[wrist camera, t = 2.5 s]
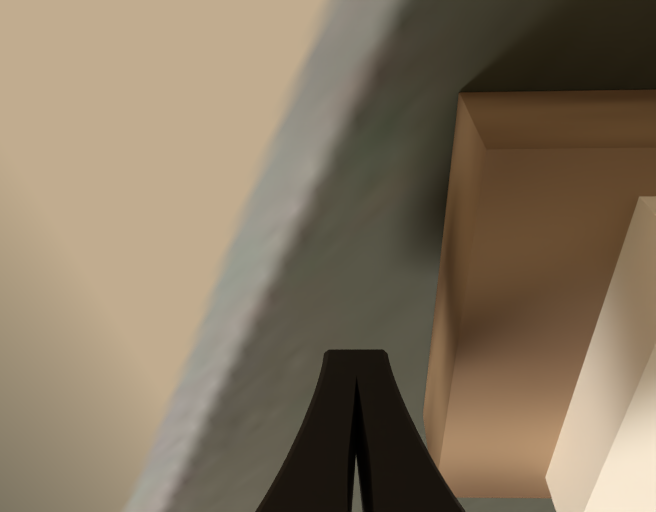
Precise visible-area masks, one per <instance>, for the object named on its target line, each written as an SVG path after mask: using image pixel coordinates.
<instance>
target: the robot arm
mask: <svg viewBox="0 0 656 512" xmlns="http://www.w3.org/2000/svg"><path fill="white" fill-rule="evenodd" d="M356 457H357V466H358V475H359V484H360V493H361V502H362V511H363V512H465V510H464V509H463V507H462V506H461V504H460V503H459V502H458V500H457V498H456V497H455V495H454V494H453V492H452V491H451V489H450V488H449V486H448V485H447V483H446V481H445V480H444V478H443V476H442V475H441V473H440V471H439V470H438V468H437V466H436V465H435V463H434V461H433V459H432V458H431V456H430V454H429V452H428V450H427V449H426V447H425V445H424V443H423V441H422V439H421V437H420V435H419V433H418V431H417V429H416V427H415V425H414V423H413V421H412V419H411V417H410V415H409V413H408V411H407V408H406V406H405V404H404V402H403V399H402V397H401V394H400V392H399V389H398V387H397V384H396V381H395V379H394V376H393V373H392V370H391V366H390V363H389V359H388V354H387V353H386V352H385V351H384V350H328V351H327V352H325V353H324V358H323V364H322V368H321V372H320V376H319V379H318V383H317V386H316V389H315V392H314V395H313V398H312V400H311V403H310V405H309V408H308V410H307V413H306V415H305V418H304V420H303V423H302V425H301V428H300V430H299V432H298V434H297V436H296V438H295V440H294V443H293V445H292V447H291V449H290V451H289V453H288V455H287V457H286V459H285V461H284V463H283V465H282V467H281V469H280V471H279V472H278V474H277V476H276V478H275V480H274V482H273V483H272V485H271V487H270V488H269V490H268V492H267V494H266V495H265V497H264V499H263V500H262V502H261V504H260V505H259V507H258V508H257V510H256V511H255V512H352V499H353V486H354V473H355V459H356Z"/></svg>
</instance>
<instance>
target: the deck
mask: <svg viewBox="0 0 656 512" xmlns="http://www.w3.org/2000/svg"><path fill="white" fill-rule="evenodd" d="M639 196H656V90H589V91H522V92H459V97H458V106H457V115H456V124H455V133H454V142H453V151H452V160H451V169H450V178H449V187H448V196H447V205H446V214H445V223H444V232H443V241H442V250H441V258H440V267H439V276H438V285H437V294H436V303H435V312H434V321H433V330H432V339H431V348H430V357H429V366H428V375H427V384H426V393H425V402H424V411H423V418H424V425H425V432H426V439H427V446H428V452H429V454H430V456H431V458H432V459H433V461H434V463H435V465H436V466H437V468H438V470H439V471H440V473H441V475H442V476H443V478H444V480H445V481H446V483H447V485H448V486H449V488H450V489H451V491H452V492H453V494H454V495H455V497H473V498H552V497H551V494H550V491H549V488H548V485H547V482H546V478H545V477H546V474H547V471H548V468H549V465H550V462H551V459H552V456H553V453H554V450H555V447H556V444H557V441H558V438H559V435H560V432H561V429H562V426H563V423H564V420H565V417H566V414H567V411H568V408H569V405H570V402H571V399H572V396H573V393H574V390H575V387H576V384H577V381H578V378H579V375H580V372H581V369H582V366H583V363H584V360H585V357H586V354H587V351H588V348H589V345H590V342H591V339H592V336H593V333H594V330H595V327H596V324H597V321H598V318H599V315H600V312H601V309H602V306H603V303H604V300H605V297H606V294H607V291H608V288H609V285H610V282H611V279H612V276H613V273H614V270H615V267H616V264H617V261H618V258H619V255H620V252H621V249H622V246H623V243H624V240H625V237H626V234H627V231H628V228H629V225H630V222H631V219H632V216H633V213H634V210H635V207H636V204H637V201H638V198H639Z"/></svg>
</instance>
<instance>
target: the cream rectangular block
mask: <svg viewBox="0 0 656 512" xmlns="http://www.w3.org/2000/svg"><path fill="white" fill-rule="evenodd" d="M545 478H546V482H547V485H548V488H549V491H550V494H551V497H552V500H553V503H554V506H555V509H556V512H656V196H639V198H638V201H637V204H636V207H635V210H634V213H633V216H632V219H631V222H630V225H629V228H628V231H627V234H626V237H625V240H624V243H623V246H622V249H621V252H620V255H619V258H618V261H617V264H616V267H615V270H614V273H613V276H612V279H611V282H610V285H609V288H608V291H607V294H606V297H605V300H604V303H603V306H602V309H601V312H600V315H599V318H598V321H597V324H596V327H595V330H594V333H593V336H592V339H591V342H590V345H589V348H588V351H587V354H586V357H585V360H584V363H583V366H582V369H581V372H580V375H579V378H578V381H577V384H576V387H575V390H574V393H573V396H572V399H571V402H570V405H569V408H568V411H567V414H566V417H565V420H564V423H563V426H562V429H561V432H560V435H559V438H558V441H557V444H556V447H555V450H554V453H553V456H552V459H551V462H550V465H549V468H548V471H547V474H546V477H545Z"/></svg>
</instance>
